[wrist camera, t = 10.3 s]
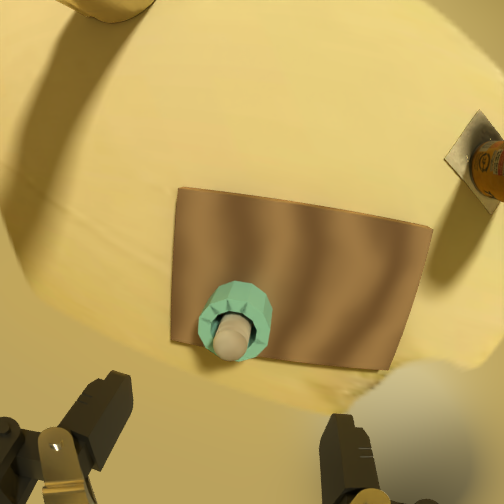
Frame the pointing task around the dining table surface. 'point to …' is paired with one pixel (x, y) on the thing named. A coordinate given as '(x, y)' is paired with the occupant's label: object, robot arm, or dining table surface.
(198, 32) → the dining table surface
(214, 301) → the ring
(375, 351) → the board
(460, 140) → the condiment
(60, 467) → the robot arm
